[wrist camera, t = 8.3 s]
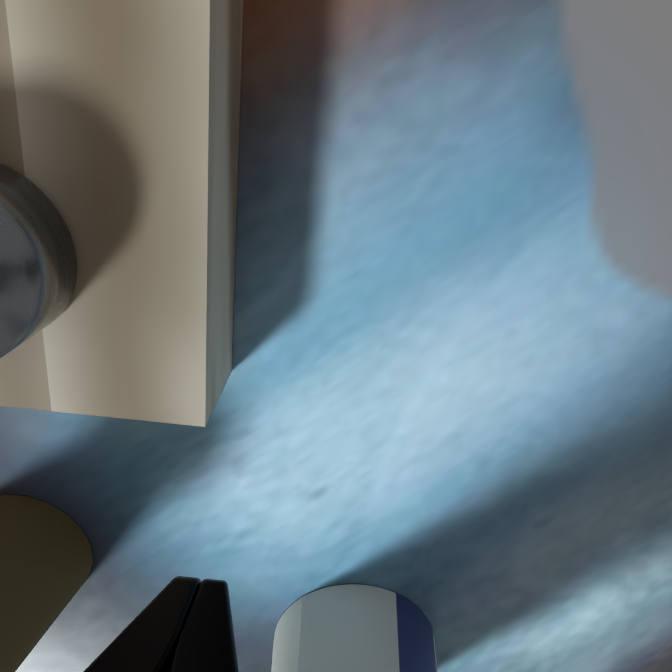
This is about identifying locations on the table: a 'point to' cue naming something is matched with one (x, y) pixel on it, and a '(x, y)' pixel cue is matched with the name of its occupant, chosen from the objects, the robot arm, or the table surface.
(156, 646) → the robot arm
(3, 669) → the cork
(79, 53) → the plunger block
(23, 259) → the metal plunger
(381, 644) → the water bottle
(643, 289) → the table surface
